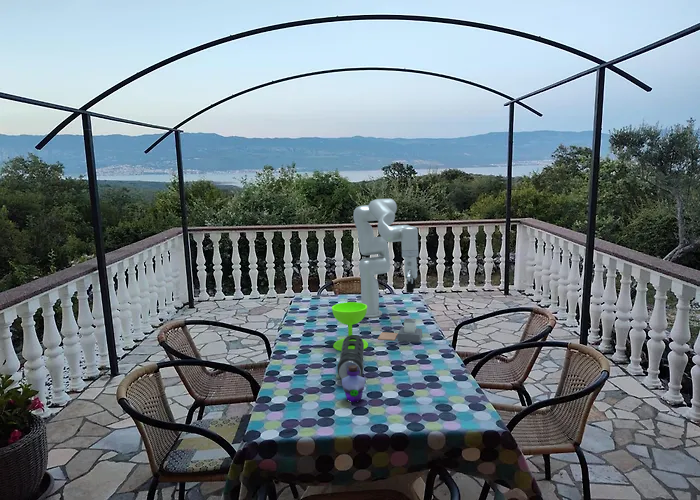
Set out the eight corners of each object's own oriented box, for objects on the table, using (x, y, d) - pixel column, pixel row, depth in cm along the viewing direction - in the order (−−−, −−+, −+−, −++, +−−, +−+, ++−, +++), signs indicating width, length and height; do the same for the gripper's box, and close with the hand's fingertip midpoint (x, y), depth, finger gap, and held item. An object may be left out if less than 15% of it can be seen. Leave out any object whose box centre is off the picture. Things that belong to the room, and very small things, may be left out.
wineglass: (375, 344, 216) (374, 306, 213) (351, 354, 204) (350, 314, 201) (349, 336, 226) (348, 300, 224) (325, 346, 215) (324, 308, 212)
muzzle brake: (364, 357, 201) (364, 334, 199) (363, 386, 173) (362, 359, 172) (342, 357, 202) (341, 334, 200) (337, 386, 174) (336, 360, 172)
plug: (404, 339, 221) (403, 320, 219) (405, 336, 224) (405, 318, 223) (415, 340, 219) (414, 321, 218) (416, 337, 223) (415, 318, 221)
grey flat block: (397, 340, 219) (397, 333, 218) (401, 334, 227) (401, 327, 227) (419, 342, 216) (419, 334, 216) (422, 335, 225) (422, 328, 224)
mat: (377, 339, 221) (377, 338, 221) (381, 333, 230) (381, 332, 230) (394, 340, 219) (394, 339, 219) (398, 334, 228) (398, 333, 228)
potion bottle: (347, 407, 158) (346, 373, 156) (337, 396, 166) (336, 364, 164) (370, 401, 161) (369, 368, 160) (360, 391, 169) (359, 359, 167)
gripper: (416, 256, 208) (417, 294, 210) (419, 250, 225) (420, 286, 227) (399, 256, 210) (400, 294, 212) (403, 251, 226) (404, 286, 229)
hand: (411, 290), depth 219 cm, fingers open, 9 cm apart
